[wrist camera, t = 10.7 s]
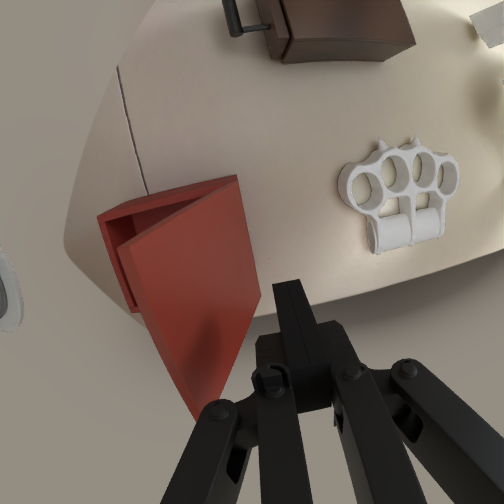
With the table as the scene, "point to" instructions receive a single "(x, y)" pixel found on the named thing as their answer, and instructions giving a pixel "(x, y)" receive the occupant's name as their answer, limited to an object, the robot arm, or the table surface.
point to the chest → (147, 221)
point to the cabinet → (345, 30)
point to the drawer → (271, 24)
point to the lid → (196, 291)
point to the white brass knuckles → (402, 195)
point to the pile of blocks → (490, 25)
